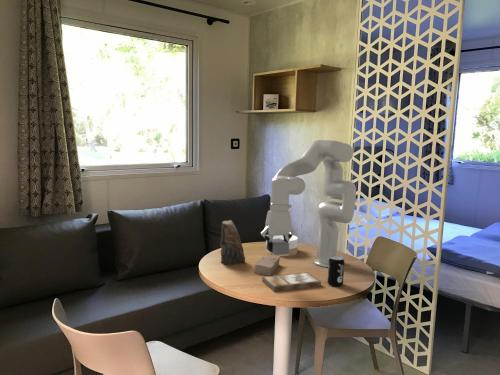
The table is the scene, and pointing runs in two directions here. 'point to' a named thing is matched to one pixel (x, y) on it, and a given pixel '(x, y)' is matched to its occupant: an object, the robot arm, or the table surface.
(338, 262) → the beverage can
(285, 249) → the block
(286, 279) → the board
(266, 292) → the table surface
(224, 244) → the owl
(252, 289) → the table surface
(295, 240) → the bowl
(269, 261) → the brick
